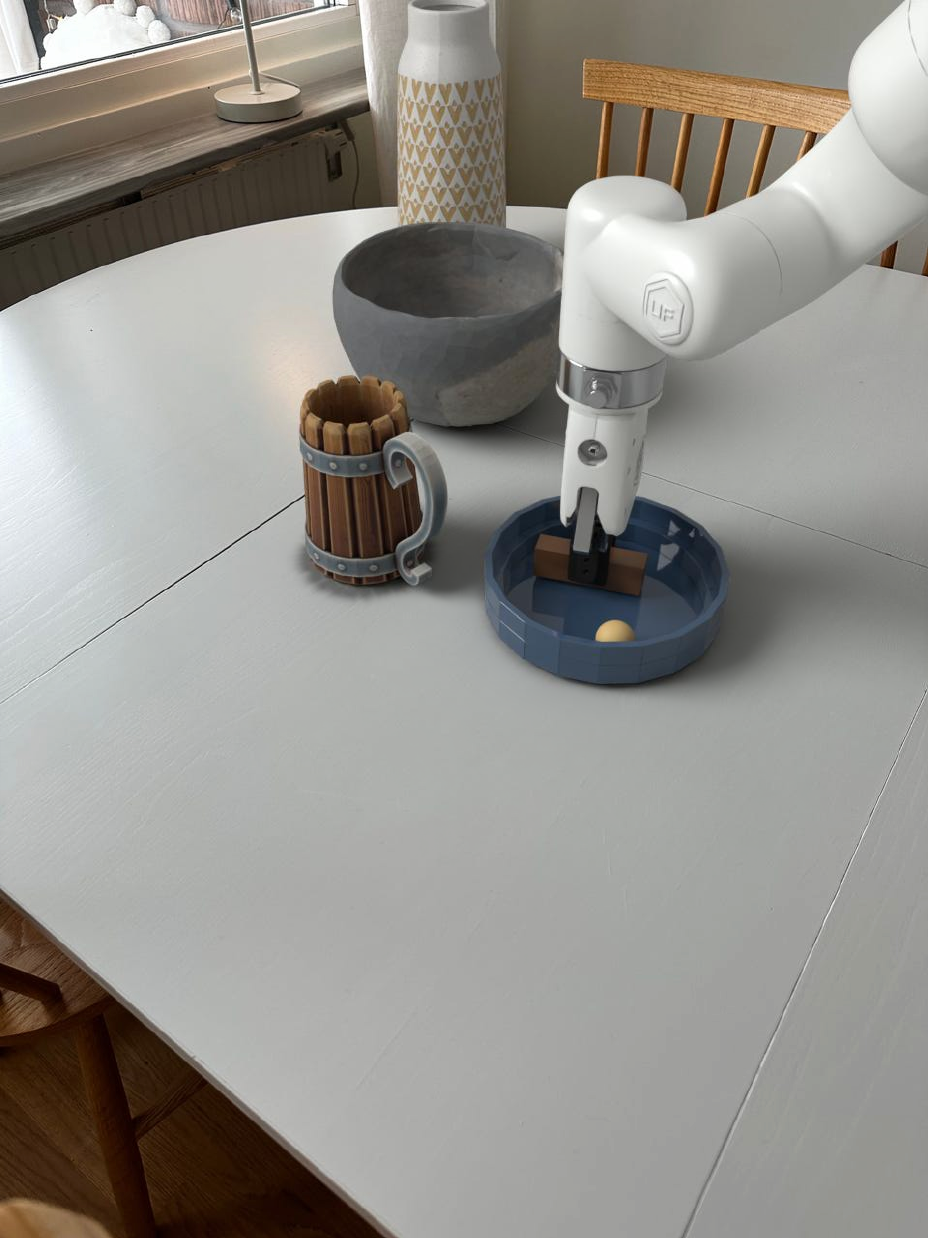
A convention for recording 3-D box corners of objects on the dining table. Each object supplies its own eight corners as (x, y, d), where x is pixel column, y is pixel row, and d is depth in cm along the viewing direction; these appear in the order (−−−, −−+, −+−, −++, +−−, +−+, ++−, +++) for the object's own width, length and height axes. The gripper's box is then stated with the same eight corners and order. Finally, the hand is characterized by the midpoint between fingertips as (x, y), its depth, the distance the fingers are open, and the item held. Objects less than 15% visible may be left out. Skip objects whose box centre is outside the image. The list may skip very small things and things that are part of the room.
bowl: (581, 463, 96) (593, 318, 86) (333, 466, 96) (315, 322, 86) (561, 344, 114) (569, 214, 104) (352, 347, 114) (340, 217, 104)
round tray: (730, 553, 85) (739, 512, 82) (705, 711, 72) (715, 669, 69) (517, 517, 90) (518, 476, 87) (456, 660, 76) (455, 618, 73)
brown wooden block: (643, 581, 81) (648, 553, 79) (639, 596, 80) (644, 568, 78) (538, 561, 83) (540, 533, 81) (532, 575, 82) (534, 547, 80)
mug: (283, 547, 87) (258, 397, 77) (377, 500, 92) (365, 353, 82) (393, 638, 78) (380, 482, 68) (490, 580, 83) (492, 427, 73)
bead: (618, 628, 77) (646, 648, 75) (591, 652, 76) (618, 673, 75) (611, 605, 75) (640, 625, 73) (584, 630, 74) (611, 651, 72)
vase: (394, 256, 133) (379, -8, 112) (493, 248, 135) (496, -13, 114) (408, 299, 123) (394, 19, 102) (515, 290, 125) (522, 12, 104)
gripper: (645, 437, 62) (617, 644, 75) (680, 326, 73) (650, 522, 86) (530, 419, 64) (522, 625, 76) (581, 313, 75) (566, 508, 87)
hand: (590, 569), depth 81 cm, fingers closed on brown wooden block, 2 cm apart
